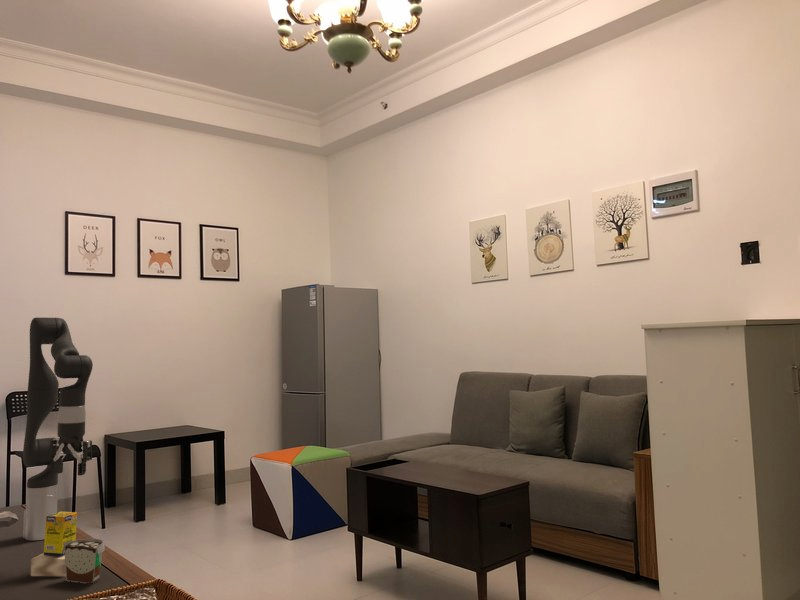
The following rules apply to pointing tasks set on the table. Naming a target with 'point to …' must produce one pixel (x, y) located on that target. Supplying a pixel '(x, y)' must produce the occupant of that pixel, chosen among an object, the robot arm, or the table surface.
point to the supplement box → (59, 532)
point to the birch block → (48, 565)
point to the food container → (83, 560)
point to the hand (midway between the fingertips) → (70, 474)
